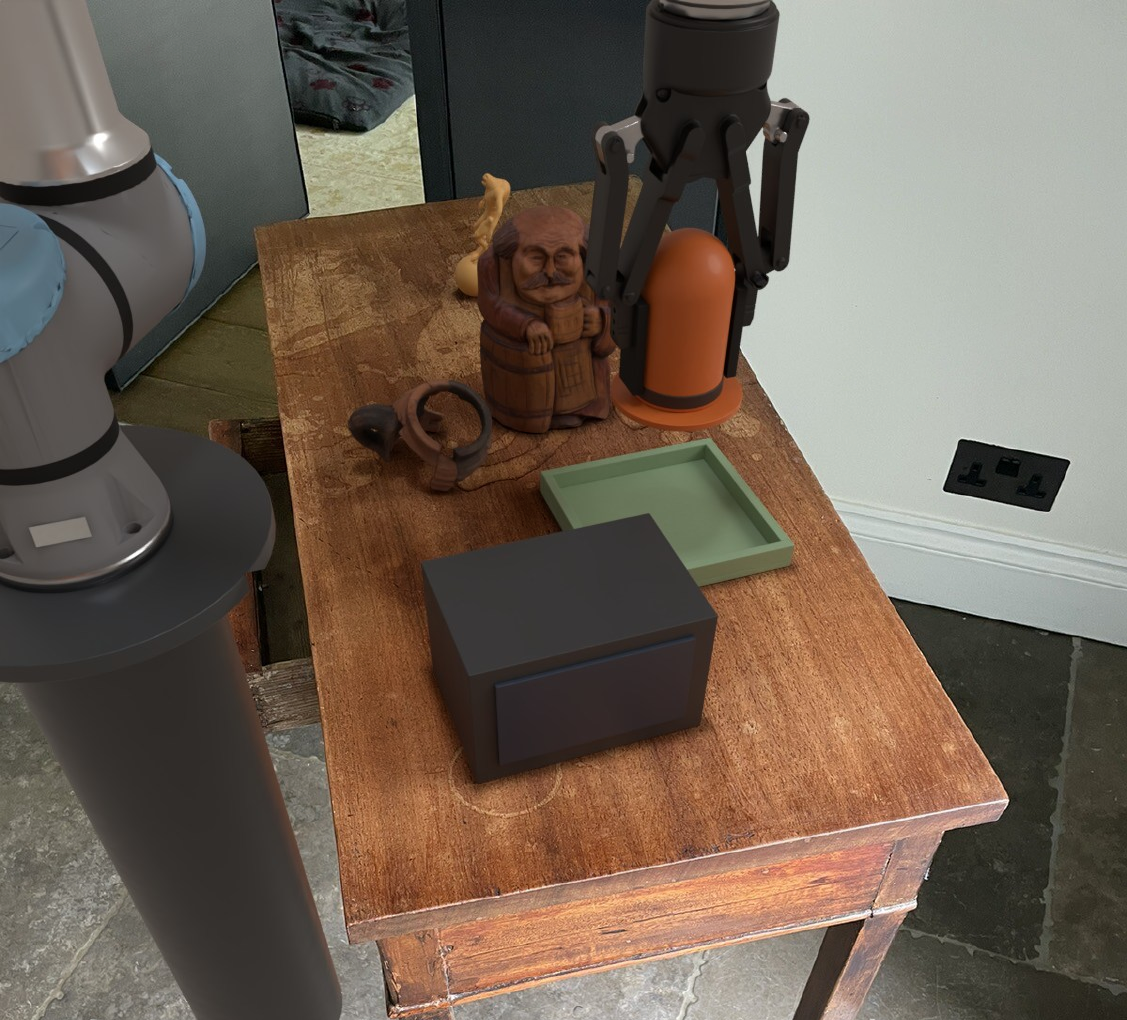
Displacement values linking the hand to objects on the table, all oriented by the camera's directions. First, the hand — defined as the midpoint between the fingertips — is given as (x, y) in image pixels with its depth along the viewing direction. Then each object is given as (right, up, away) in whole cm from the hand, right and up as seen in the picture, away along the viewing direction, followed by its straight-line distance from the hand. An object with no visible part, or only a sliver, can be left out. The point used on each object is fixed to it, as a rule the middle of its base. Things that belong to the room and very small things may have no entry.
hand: (677, 376), depth 77 cm
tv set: (-8, -23, -2) cm, 25 cm away
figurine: (-17, +21, +36) cm, 45 cm away
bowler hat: (0, -1, +1) cm, 1 cm away
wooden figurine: (-9, +4, +21) cm, 24 cm away
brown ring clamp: (-20, -2, +16) cm, 26 cm away
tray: (0, -9, +10) cm, 14 cm away
